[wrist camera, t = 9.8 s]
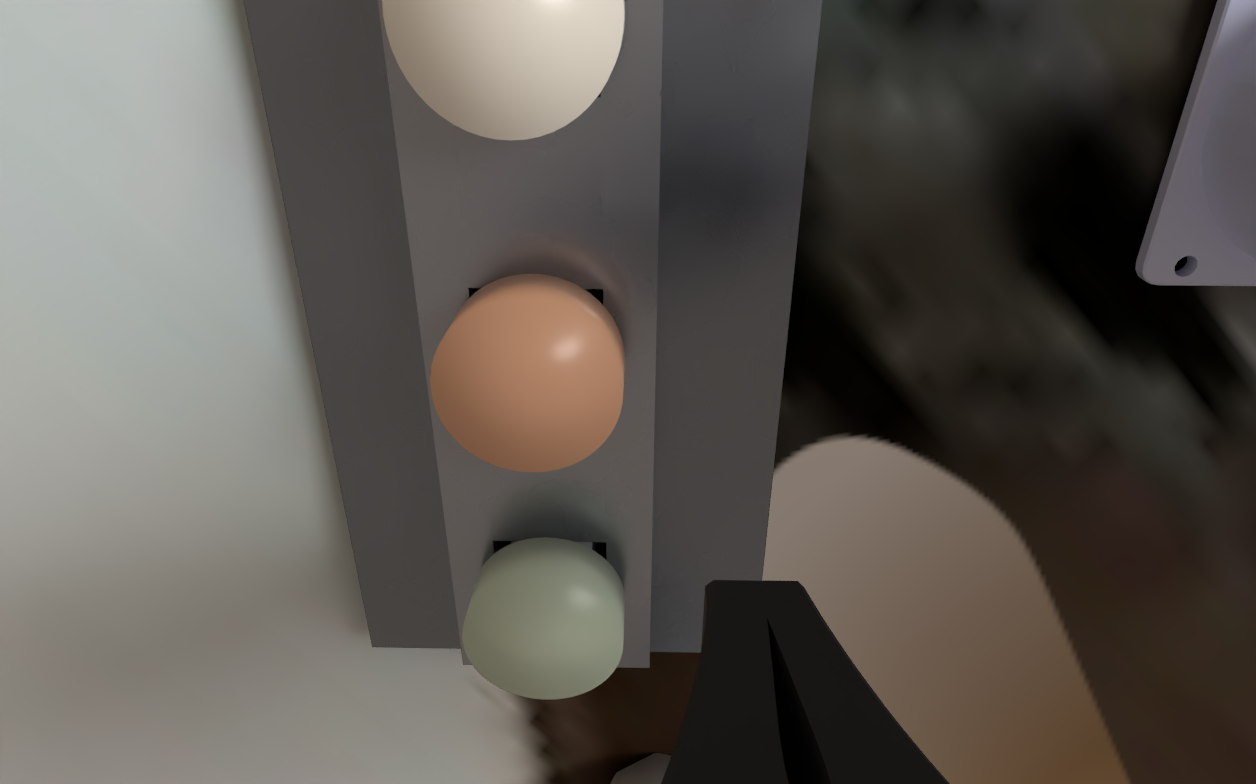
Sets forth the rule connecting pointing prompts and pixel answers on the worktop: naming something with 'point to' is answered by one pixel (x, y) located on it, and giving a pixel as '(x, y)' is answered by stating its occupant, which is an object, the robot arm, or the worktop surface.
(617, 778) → the salt shaker
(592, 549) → the sage knob
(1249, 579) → the worktop surface
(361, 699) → the worktop surface
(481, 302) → the terracotta knob
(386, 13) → the cream knob
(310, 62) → the switch panel
